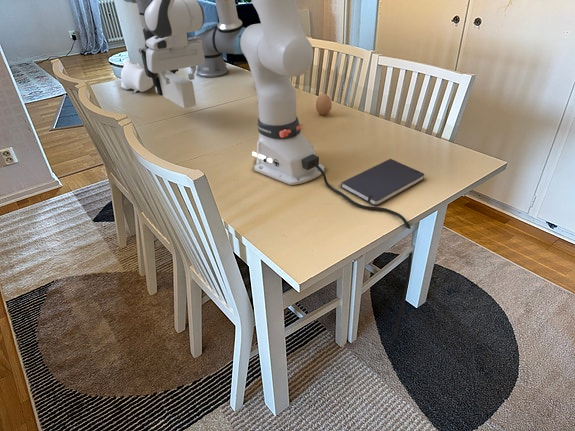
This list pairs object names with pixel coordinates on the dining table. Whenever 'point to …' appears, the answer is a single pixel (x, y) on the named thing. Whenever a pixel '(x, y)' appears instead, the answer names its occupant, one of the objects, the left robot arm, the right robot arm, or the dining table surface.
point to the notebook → (382, 181)
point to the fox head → (135, 77)
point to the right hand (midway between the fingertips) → (179, 81)
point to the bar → (178, 90)
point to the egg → (323, 104)
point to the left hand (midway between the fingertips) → (166, 92)
